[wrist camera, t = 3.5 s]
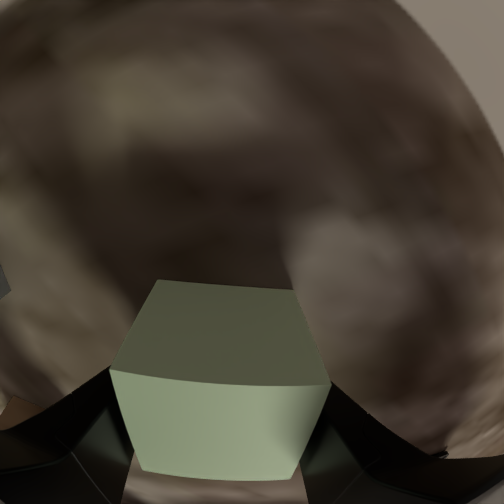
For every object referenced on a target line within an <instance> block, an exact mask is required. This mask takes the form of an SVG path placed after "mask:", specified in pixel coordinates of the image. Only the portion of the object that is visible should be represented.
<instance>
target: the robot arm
mask: <svg viewBox="0 0 504 504" xmlns="http://www.w3.org/2000/svg"><path fill="white" fill-rule="evenodd" d="M111 365H112V364H111ZM111 365H110V366H109V367H107V368H106V369H104V370H103V371H101V372H100V373H99V374H97V375H96V376H94V377H93V378H91V379H90V380H89V381H87V382H86V383H84V384H83V385H81V386H80V387H79V388H77V389H76V390H74V391H73V392H72V394H68V395H67V396H66V397H64V398H63V399H61V400H60V401H58V402H57V403H55V404H54V405H52V406H50V407H49V408H47V409H45V410H43V411H42V412H40V413H38V414H36V415H34V416H32V417H30V418H28V419H26V420H25V421H23V422H21V423H19V424H17V425H15V426H13V427H11V428H8V429H5V430H0V504H120V503H121V499H122V495H123V491H124V487H125V483H126V479H127V476H128V472H129V468H130V465H131V461H132V458H133V454H134V451H135V450H134V448H133V445H132V442H131V440H130V437H129V434H128V431H127V428H126V425H125V422H124V419H123V416H122V413H121V410H120V407H119V403H118V400H117V397H116V393H115V389H114V386H113V382H112V378H111V374H110V370H109V369H110V367H111ZM330 382H331V384H332V385H331V388H330V390H329V393H328V396H327V398H326V401H325V403H324V406H323V408H322V411H321V413H320V416H319V418H318V420H317V423H316V425H315V427H314V430H313V432H312V434H311V437H310V439H309V441H308V443H307V445H306V448H305V450H304V452H303V454H302V456H301V458H300V460H299V462H300V467H301V471H302V476H303V480H304V485H305V489H306V493H307V498H308V502H309V504H504V454H503V455H499V456H492V457H481V458H461V459H446V457H447V456H448V455H449V454H448V452H447V451H445V452H442V453H440V454H437V455H434V456H431V455H428V454H426V453H425V452H423V451H421V450H420V449H418V448H416V447H415V446H413V445H412V444H410V443H408V442H407V441H405V440H404V439H402V438H401V437H399V436H398V435H396V434H395V433H393V432H392V431H390V430H389V429H387V428H386V427H385V426H384V425H382V424H381V423H380V422H378V421H377V420H376V419H375V418H374V417H372V416H371V415H370V414H367V412H366V411H365V410H364V409H363V408H362V407H360V406H359V405H358V404H357V403H356V402H355V401H353V400H352V399H351V398H350V397H349V396H348V395H346V394H345V393H344V392H343V391H342V390H341V389H340V388H338V387H337V386H336V385H335V384H334V383H333V382H332V381H330Z"/></svg>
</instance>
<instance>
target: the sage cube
mask: <svg viewBox="0 0 504 504" xmlns="http://www.w3.org/2000/svg"><path fill="white" fill-rule="evenodd" d="M109 370H110V374H111V378H112V382H113V386H114V389H115V393H116V397H117V400H118V403H119V407H120V410H121V413H122V416H123V419H124V422H125V425H126V428H127V431H128V434H129V437H130V440H131V442H132V445H133V448H134V450H135V453H136V455H137V458H138V460H139V463H140V465H141V468H142V470H145V471H150V472H155V473H161V474H168V475H175V476H182V477H191V478H201V479H214V480H238V481H262V480H285V479H290V478H291V476H292V474H293V472H294V470H295V468H296V466H297V464H298V462H299V460H300V458H301V456H302V454H303V452H304V450H305V448H306V445H307V443H308V441H309V439H310V437H311V434H312V432H313V430H314V427H315V425H316V423H317V420H318V418H319V416H320V413H321V411H322V408H323V406H324V403H325V401H326V398H327V396H328V393H329V390H330V388H331V385H332V384H331V382H330V379H329V377H328V374H327V371H326V369H325V366H324V364H323V361H322V359H321V356H320V354H319V351H318V349H317V346H316V344H315V341H314V339H313V336H312V334H311V331H310V329H309V326H308V324H307V321H306V319H305V316H304V314H303V311H302V309H301V306H300V304H299V302H298V299H297V297H296V294H295V292H294V290H288V289H271V288H256V287H242V286H228V285H215V284H203V283H191V282H180V281H170V280H159V279H158V280H157V281H156V283H155V285H154V287H153V288H152V290H151V292H150V294H149V295H148V297H147V299H146V301H145V303H144V304H143V306H142V308H141V310H140V312H139V313H138V315H137V317H136V319H135V321H134V322H133V324H132V326H131V328H130V330H129V332H128V334H127V336H126V337H125V339H124V341H123V343H122V345H121V347H120V349H119V351H118V353H117V355H116V357H115V359H114V361H113V363H112V365H111V367H110V369H109Z"/></svg>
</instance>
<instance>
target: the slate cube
mask: <svg viewBox="0 0 504 504" xmlns="http://www.w3.org/2000/svg"><path fill="white" fill-rule="evenodd" d="M10 291H11V289H10V287H9V285H8V282H7V280H6V278H5V275H4V273H3V270H2V268H1V265H0V299H1V298H3V297H4V296H5V295H6V294H8V293H9V292H10Z"/></svg>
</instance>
